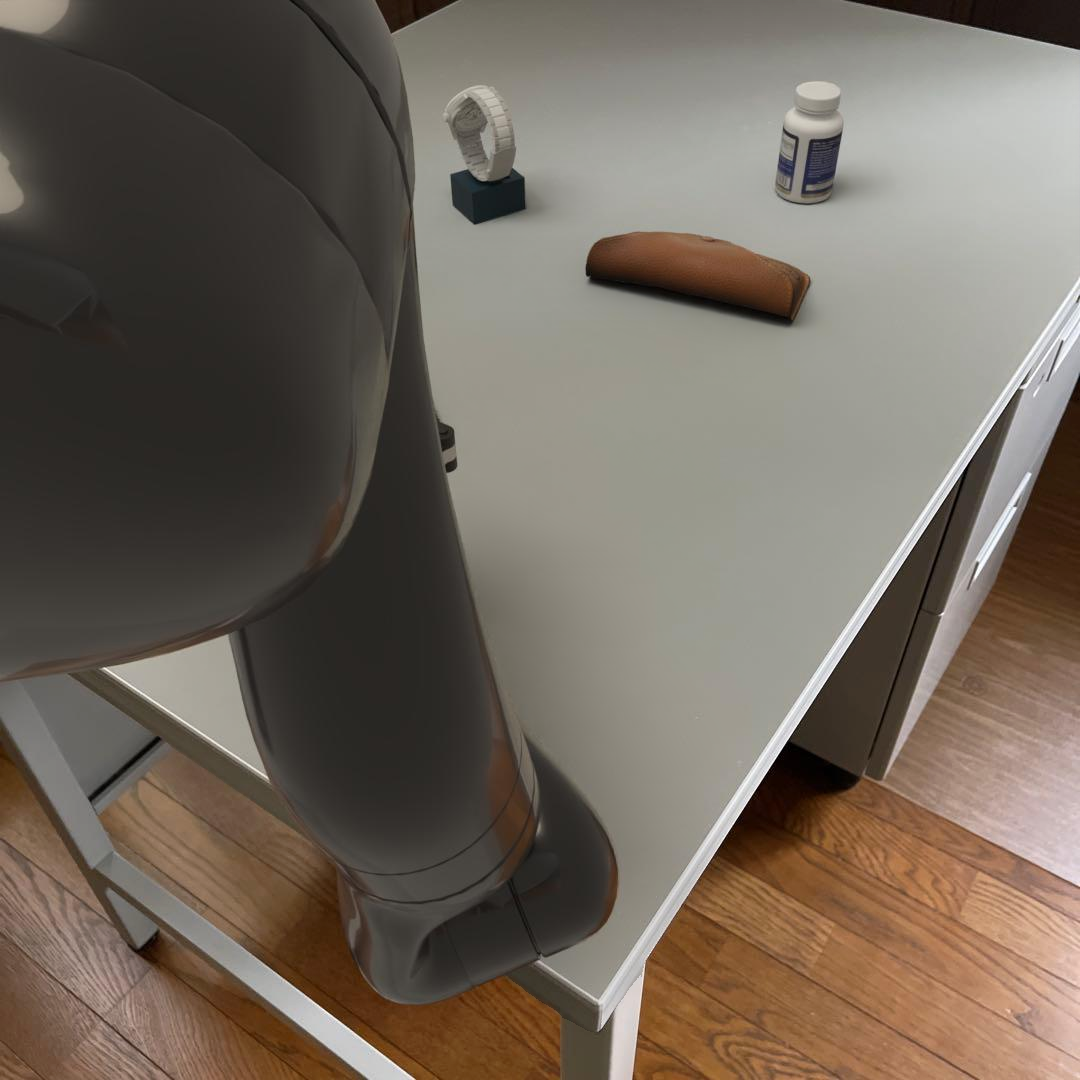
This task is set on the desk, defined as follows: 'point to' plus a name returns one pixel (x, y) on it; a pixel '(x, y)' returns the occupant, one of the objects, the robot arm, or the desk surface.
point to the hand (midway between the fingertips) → (313, 379)
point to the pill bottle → (810, 144)
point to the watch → (484, 156)
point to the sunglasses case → (700, 269)
